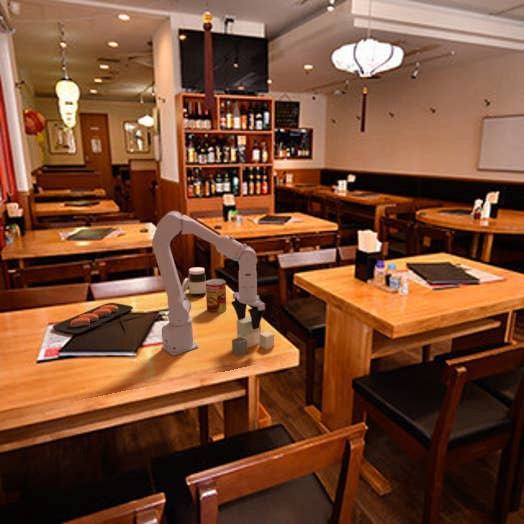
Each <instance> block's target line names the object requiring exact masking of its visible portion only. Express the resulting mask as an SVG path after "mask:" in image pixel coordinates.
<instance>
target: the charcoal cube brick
mask: <svg viewBox="0 0 524 524" xmlns="http://www.w3.org/2000/svg"><path fill="white" fill-rule="evenodd" d="M231 348H232V349H231V350H232V354H234V355H236V356H238V357H241V356H243V355H246V354H248V348H247V340H245V339H244V338H242V337H239V338H237V337H236V338H233V339H231Z"/></svg>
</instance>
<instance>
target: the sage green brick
mask: <svg viewBox="0 0 524 524" xmlns="http://www.w3.org/2000/svg"><path fill="white" fill-rule="evenodd" d="M260 325H261V324H260ZM260 325H259V328H257V329H253V328H252V320H251V316H247V317H245V318H243V319H240V320H238V319H237V320H236V334H237V333H238V334H240V335H242V336H246V335H249V334H252V333H255V332H258V331H260Z"/></svg>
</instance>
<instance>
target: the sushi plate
mask: <svg viewBox="0 0 524 524" xmlns="http://www.w3.org/2000/svg"><path fill="white" fill-rule="evenodd" d="M133 308H134V307H133V306H131V305H129V304H128V305H127V304H123V303H117V302H108V303H105V304H104V303H103V304H102V305H99V306H96V307H95V308H91V309H89V310H87V311H84V312H82V313H80V314H77V315H75V316H73V317H71V318H67V319H65V320H63V321H61V322H59V323H56V324H55V325H53V326H52V329H54V330H55V331H60V332H64V333H67V334H73V335H78V334H83V333H84V332H87V331H90V330H92V329H94V328H96V327H99V326H100V327H101V326H104V324H105V325H109V324H114V323H119V322H122V326H123V329H124V334H125V337H126V338H128V335H129V334H128V331H127V329H126V325H125V321H129V320H135V319H139V318H142V317H145V316H149V315H150V313H146V314H142V315H138V316H137V315H136V316H132V317H128V318H124V317H123V314H126V313H128V312H130V311H132V310H133ZM122 313H123V314H122ZM104 314H110V315H104ZM119 314H121V315H119ZM98 315H104V316H98ZM116 315H119V316H117V317H115V318H118V317H121V316H122V317H121V319H120V320H119V319H118V320H115V322H114V321H111V320H113V319H115V318H114V316H116ZM112 317H113V319H112ZM97 318H98V319H97ZM94 319H97V320H94ZM110 319H111V320H110ZM122 319H123V321H124V322H123V321H122ZM90 320H91V321H90ZM105 320H106V322H105ZM103 321H104V323H103ZM109 321H110V322H109ZM101 322H102V324H101ZM111 322H112V323H111ZM99 323H100V325H99ZM88 328H89V330H88ZM83 330H84V331H83ZM86 330H87V331H86Z"/></svg>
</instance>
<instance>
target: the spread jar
mask: <svg viewBox="0 0 524 524" xmlns="http://www.w3.org/2000/svg"><path fill="white" fill-rule="evenodd" d="M206 281H207V277H206V274H205V268H204V267H199V266H197V267H191V268H189V269H188V277H185V279H183V281H182V284H181V287H182V290H183V292H184V293H185V294H186V291H187V289H188V293H189V295H190V296H191V297H196V298H197V297H203V296H205V295H206Z"/></svg>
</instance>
